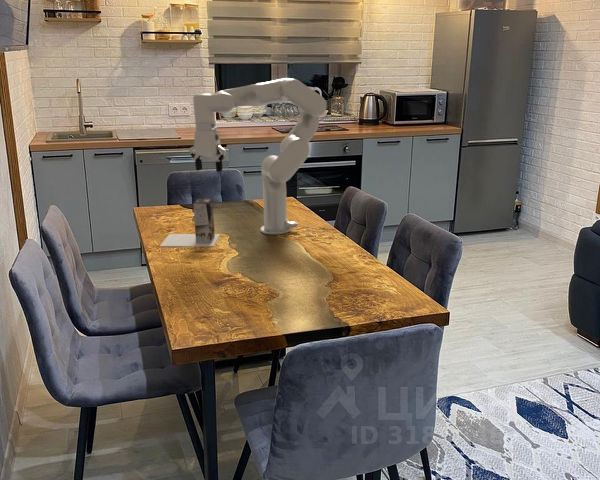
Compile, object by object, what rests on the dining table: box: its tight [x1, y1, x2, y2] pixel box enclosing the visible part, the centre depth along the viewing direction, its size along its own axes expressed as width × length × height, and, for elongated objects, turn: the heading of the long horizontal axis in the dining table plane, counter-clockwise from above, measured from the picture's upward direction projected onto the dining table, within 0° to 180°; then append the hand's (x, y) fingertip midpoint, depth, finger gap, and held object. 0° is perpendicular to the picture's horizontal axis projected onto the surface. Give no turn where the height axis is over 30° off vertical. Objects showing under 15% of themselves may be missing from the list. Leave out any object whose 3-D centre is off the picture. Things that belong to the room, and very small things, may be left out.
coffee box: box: [193, 197, 216, 243], centre depth 234 cm, size 9×6×16 cm
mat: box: [159, 233, 221, 248], centre depth 237 cm, size 21×16×1 cm
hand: (209, 170), depth 233 cm, fingers open, 9 cm apart
